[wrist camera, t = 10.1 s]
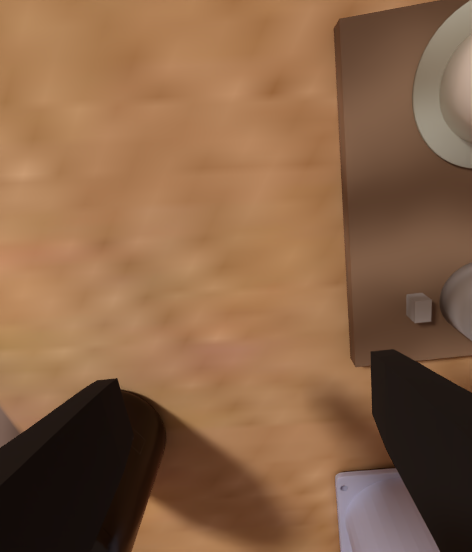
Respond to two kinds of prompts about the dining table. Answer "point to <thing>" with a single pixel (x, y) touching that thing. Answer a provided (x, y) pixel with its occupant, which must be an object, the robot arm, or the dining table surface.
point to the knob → (458, 91)
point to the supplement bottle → (133, 478)
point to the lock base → (404, 183)
